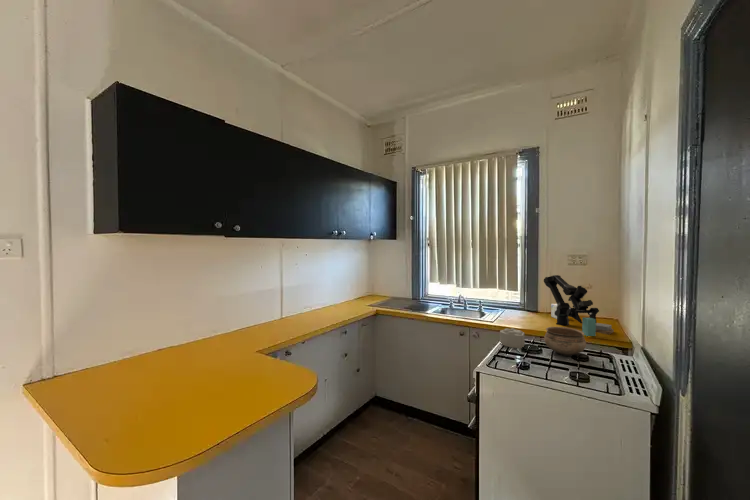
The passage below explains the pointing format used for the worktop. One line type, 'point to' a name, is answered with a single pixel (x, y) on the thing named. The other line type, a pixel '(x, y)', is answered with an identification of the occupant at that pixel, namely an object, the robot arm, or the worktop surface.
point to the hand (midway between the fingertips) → (588, 323)
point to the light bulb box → (553, 310)
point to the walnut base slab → (605, 331)
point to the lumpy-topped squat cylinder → (512, 338)
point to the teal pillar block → (589, 326)
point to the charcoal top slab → (603, 327)
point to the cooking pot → (565, 340)
